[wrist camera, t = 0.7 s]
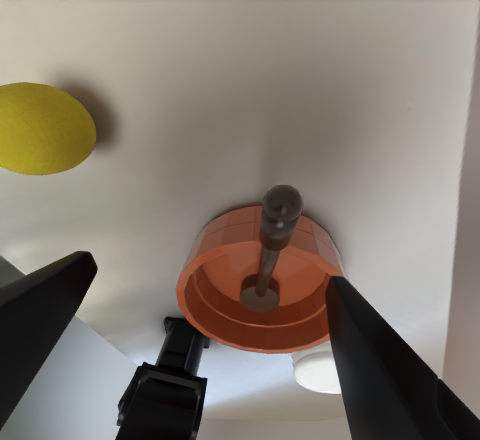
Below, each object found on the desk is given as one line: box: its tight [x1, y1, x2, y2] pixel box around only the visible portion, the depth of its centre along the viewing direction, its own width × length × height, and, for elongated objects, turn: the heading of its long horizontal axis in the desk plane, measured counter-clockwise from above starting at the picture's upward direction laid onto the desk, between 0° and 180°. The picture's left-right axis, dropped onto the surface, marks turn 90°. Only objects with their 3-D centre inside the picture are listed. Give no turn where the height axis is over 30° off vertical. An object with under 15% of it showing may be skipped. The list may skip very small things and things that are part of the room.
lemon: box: [0, 82, 96, 175], centre depth 15 cm, size 6×6×8 cm
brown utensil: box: [240, 185, 303, 312], centre depth 18 cm, size 19×4×10 cm, turn 178°
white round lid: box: [292, 340, 342, 394], centre depth 32 cm, size 10×10×4 cm
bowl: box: [176, 206, 349, 354], centre depth 23 cm, size 16×16×6 cm
